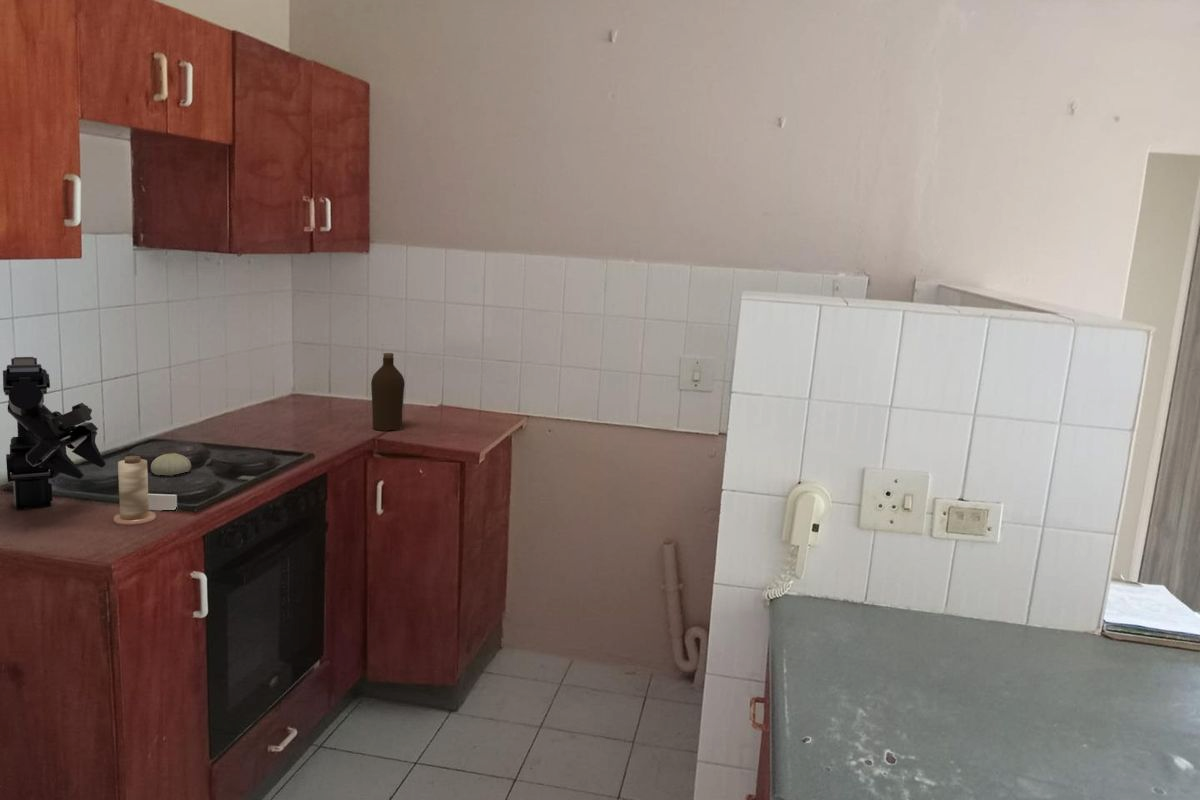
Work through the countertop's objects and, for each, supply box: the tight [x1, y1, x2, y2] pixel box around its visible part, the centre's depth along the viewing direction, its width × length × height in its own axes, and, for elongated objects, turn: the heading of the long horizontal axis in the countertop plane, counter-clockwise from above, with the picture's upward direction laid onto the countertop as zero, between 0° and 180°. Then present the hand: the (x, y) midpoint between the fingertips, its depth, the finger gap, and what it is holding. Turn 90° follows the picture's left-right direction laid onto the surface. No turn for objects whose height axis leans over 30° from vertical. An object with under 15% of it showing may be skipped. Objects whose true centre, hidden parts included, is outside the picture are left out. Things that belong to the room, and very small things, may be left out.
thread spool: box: [117, 455, 150, 520], centre depth 187 cm, size 6×6×13 cm
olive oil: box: [370, 352, 405, 431], centre depth 288 cm, size 11×11×25 cm
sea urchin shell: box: [150, 453, 192, 476], centre depth 224 cm, size 9×8×8 cm
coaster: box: [113, 510, 157, 526], centre depth 188 cm, size 8×8×1 cm
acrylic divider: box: [148, 493, 178, 511], centre depth 195 cm, size 10×1×4 cm, turn 93°
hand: (93, 471), depth 188 cm, fingers open, 9 cm apart
